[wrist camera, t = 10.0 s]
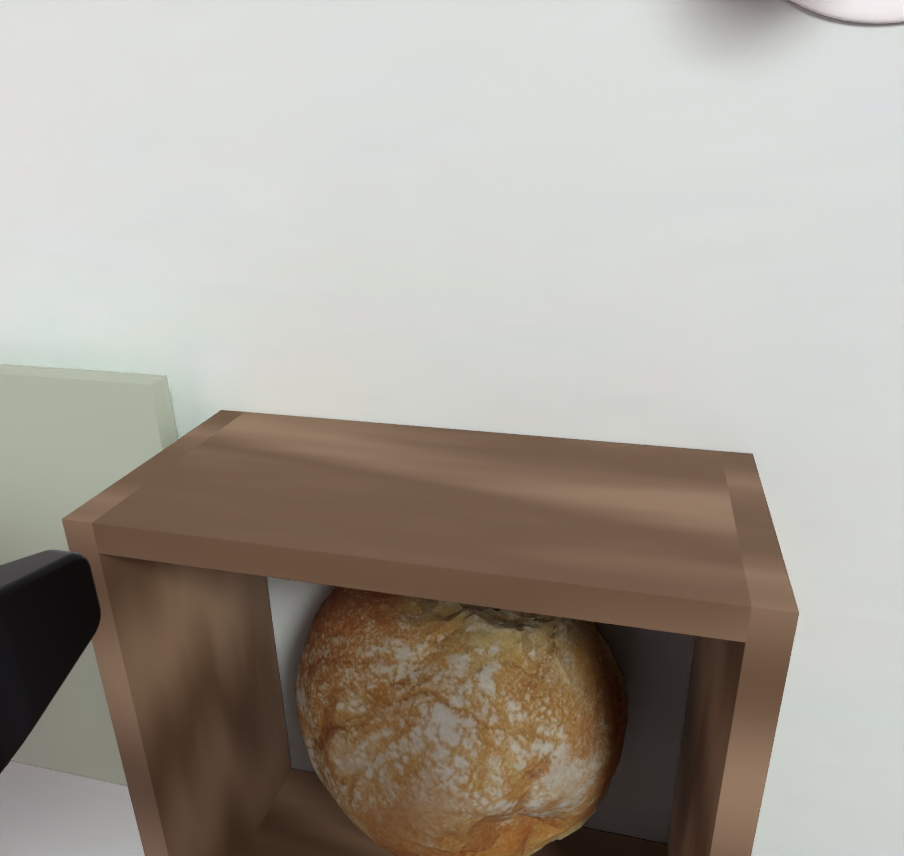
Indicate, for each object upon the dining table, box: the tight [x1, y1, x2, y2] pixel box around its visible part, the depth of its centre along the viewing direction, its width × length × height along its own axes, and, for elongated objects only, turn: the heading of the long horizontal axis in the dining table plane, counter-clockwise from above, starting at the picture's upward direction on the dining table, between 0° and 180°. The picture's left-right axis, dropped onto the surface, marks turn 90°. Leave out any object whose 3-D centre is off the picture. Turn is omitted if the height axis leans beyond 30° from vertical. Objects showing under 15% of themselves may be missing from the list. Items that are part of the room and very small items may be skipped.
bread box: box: [62, 410, 799, 856], centre depth 21 cm, size 16×16×7 cm
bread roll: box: [295, 586, 628, 856], centre depth 23 cm, size 10×10×8 cm
